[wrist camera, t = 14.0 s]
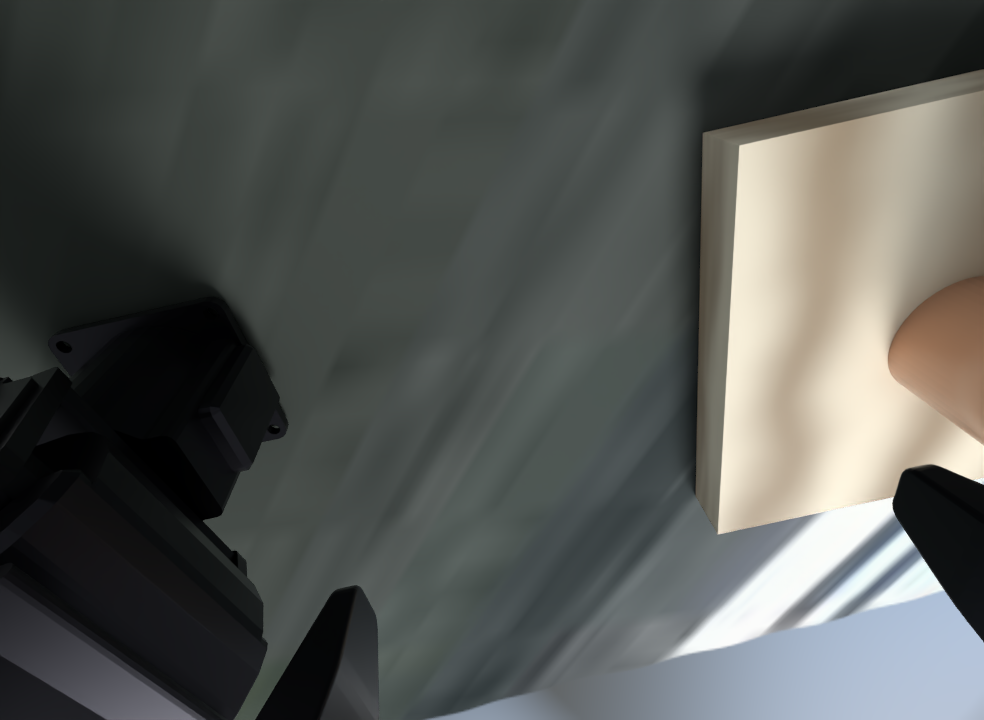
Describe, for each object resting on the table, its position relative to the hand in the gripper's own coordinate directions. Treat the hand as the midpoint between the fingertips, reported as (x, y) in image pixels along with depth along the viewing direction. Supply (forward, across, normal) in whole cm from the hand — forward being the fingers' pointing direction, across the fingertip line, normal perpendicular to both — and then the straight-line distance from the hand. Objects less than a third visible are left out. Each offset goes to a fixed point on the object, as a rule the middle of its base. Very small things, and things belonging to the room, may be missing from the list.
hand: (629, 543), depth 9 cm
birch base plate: (+13, -16, +6) cm, 21 cm away
